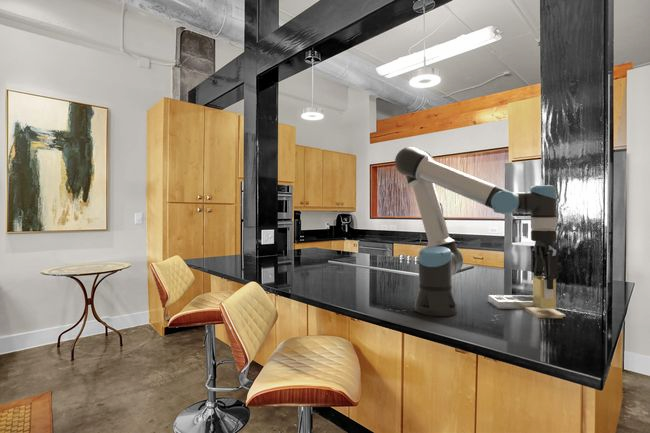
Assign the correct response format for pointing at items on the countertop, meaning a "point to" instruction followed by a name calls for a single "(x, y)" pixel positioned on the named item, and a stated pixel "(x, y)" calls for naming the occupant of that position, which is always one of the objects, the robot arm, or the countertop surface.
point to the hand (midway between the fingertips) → (544, 296)
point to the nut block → (539, 294)
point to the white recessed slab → (511, 301)
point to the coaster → (544, 312)
